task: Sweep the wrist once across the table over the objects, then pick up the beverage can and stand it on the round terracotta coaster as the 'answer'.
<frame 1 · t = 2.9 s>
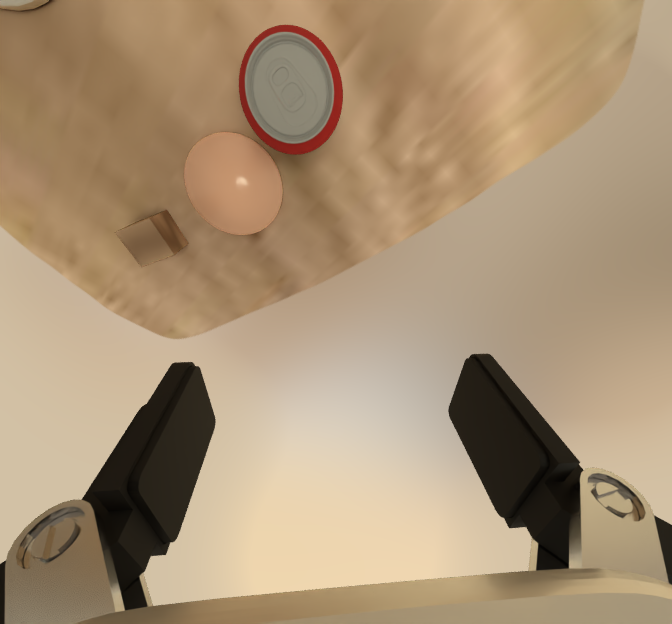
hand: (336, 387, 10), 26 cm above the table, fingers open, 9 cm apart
walnut block: (163, 232, 32), on the table
coaster: (235, 187, 30), on the table
beverage can: (298, 110, 27), on the table
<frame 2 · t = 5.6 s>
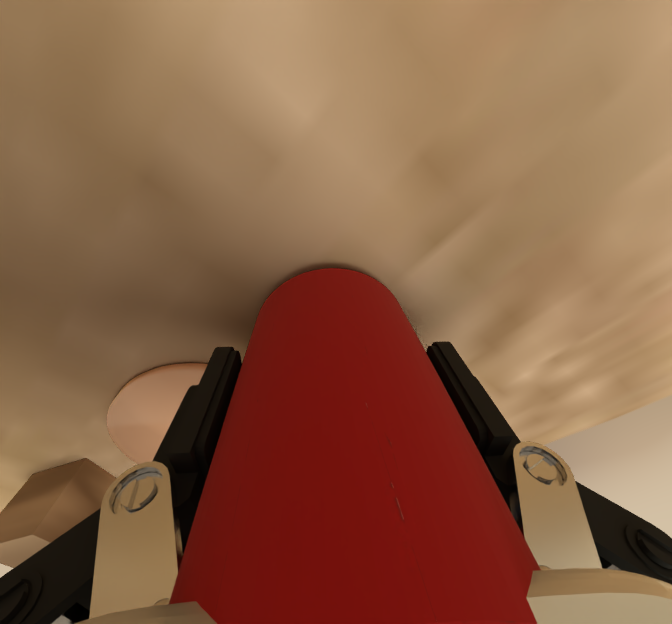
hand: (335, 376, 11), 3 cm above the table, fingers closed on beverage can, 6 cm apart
walnut block: (85, 480, 19), on the table
coaster: (209, 427, 17), on the table
beverage can: (329, 324, 14), on the table, touching gripper
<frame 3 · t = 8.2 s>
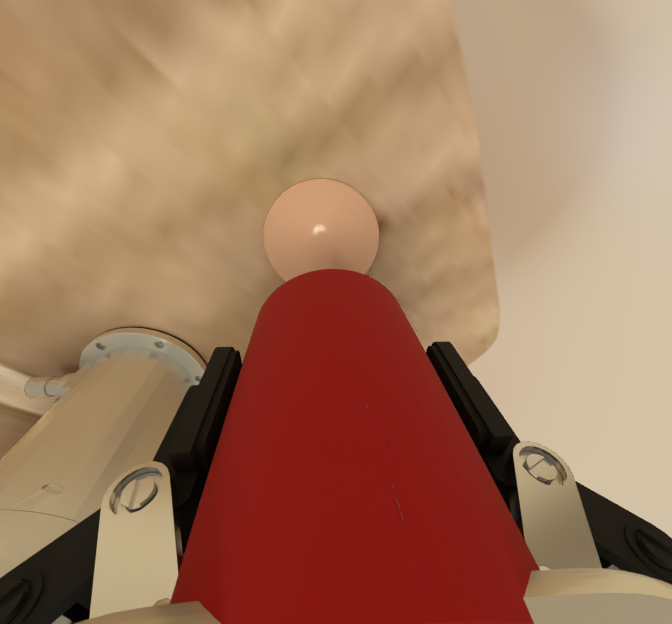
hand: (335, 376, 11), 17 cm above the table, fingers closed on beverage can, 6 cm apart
coaster: (321, 240, 25), on the table
beverage can: (330, 324, 14), point 13 cm above the table, touching gripper
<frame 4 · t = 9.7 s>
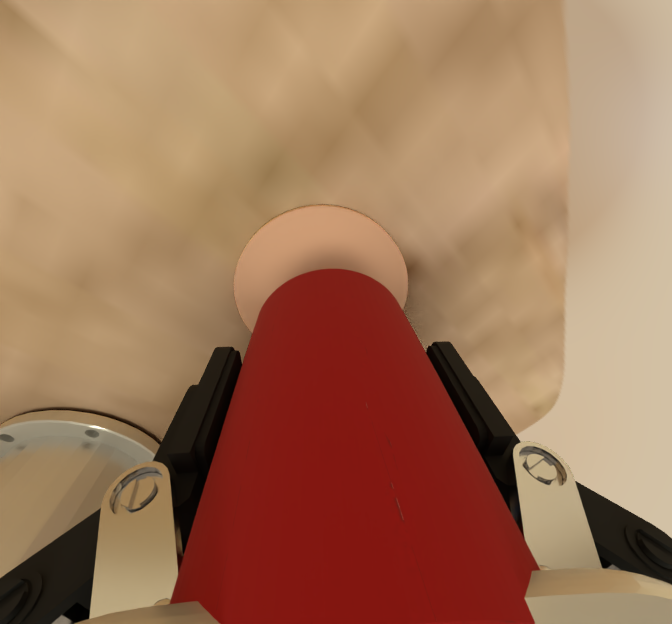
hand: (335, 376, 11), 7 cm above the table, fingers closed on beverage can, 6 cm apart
coaster: (322, 292, 17), on the table
beverage can: (330, 324, 14), point 4 cm above the table, touching gripper
when the fingers open (5 cm above the table, at t = 10.7 s): beverage can drops 1 cm, resting on coaster.
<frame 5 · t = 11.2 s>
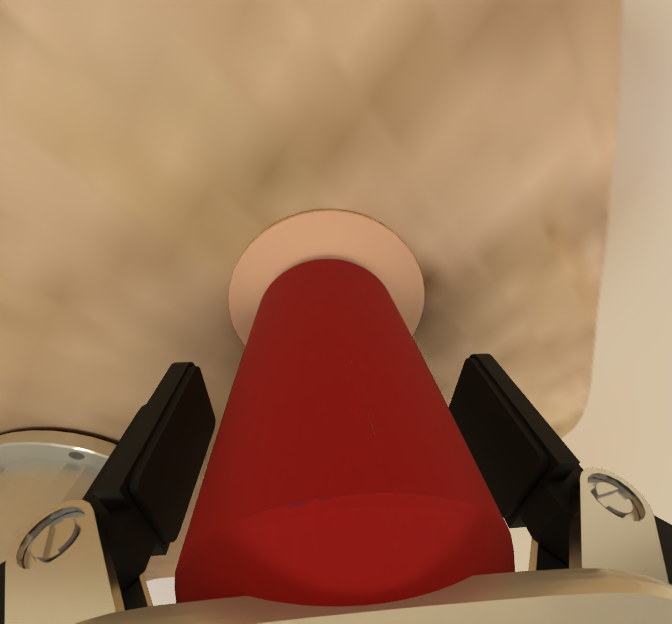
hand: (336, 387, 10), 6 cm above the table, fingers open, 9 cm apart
coaster: (328, 306, 15), on the table
beverage can: (326, 312, 15), resting on coaster
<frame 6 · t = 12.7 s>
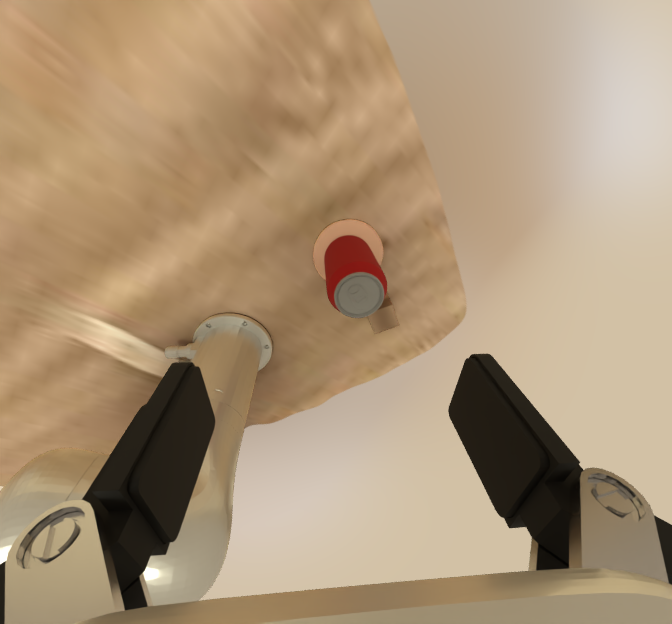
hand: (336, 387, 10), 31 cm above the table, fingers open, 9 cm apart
walnut block: (377, 306, 45), on the table
coaster: (347, 254, 40), on the table
beverage can: (347, 256, 40), resting on coaster
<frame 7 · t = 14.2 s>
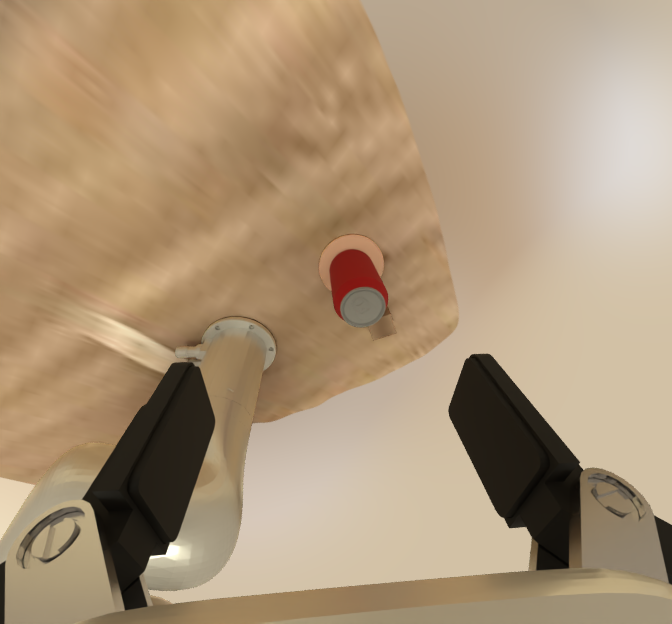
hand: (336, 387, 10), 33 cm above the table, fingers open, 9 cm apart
walnut block: (376, 314, 49), on the table
coaster: (351, 266, 43), on the table
beverage can: (350, 267, 43), resting on coaster
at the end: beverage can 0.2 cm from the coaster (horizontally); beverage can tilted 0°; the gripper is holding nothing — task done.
